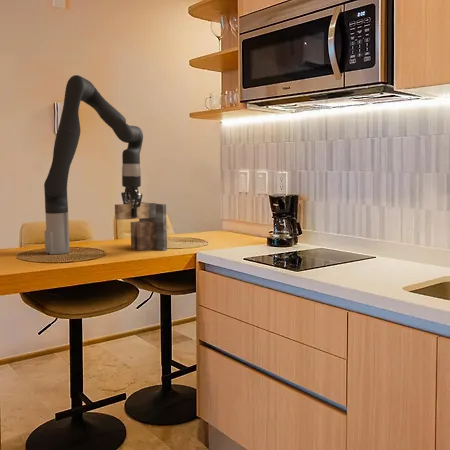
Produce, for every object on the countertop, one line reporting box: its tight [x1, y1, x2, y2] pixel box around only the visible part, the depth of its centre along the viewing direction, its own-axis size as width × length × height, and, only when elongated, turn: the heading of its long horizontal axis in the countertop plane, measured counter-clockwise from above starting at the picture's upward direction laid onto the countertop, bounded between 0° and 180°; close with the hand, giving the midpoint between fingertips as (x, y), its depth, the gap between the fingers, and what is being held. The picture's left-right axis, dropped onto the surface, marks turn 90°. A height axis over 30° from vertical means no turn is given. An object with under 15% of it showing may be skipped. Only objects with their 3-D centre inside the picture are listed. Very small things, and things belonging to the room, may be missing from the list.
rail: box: [114, 202, 157, 221], centre depth 223 cm, size 18×3×6 cm, turn 129°
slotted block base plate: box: [130, 201, 168, 252], centre depth 238 cm, size 10×20×20 cm, turn 40°
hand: (132, 217), depth 222 cm, fingers closed on rail, 3 cm apart
